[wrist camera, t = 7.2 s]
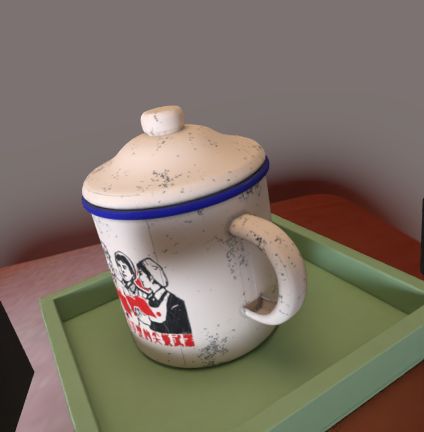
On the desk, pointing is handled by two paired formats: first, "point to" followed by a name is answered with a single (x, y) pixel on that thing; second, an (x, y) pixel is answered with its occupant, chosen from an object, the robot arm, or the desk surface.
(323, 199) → the desk surface
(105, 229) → the teacup with lid
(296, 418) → the tray
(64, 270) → the desk surface
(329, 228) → the desk surface
